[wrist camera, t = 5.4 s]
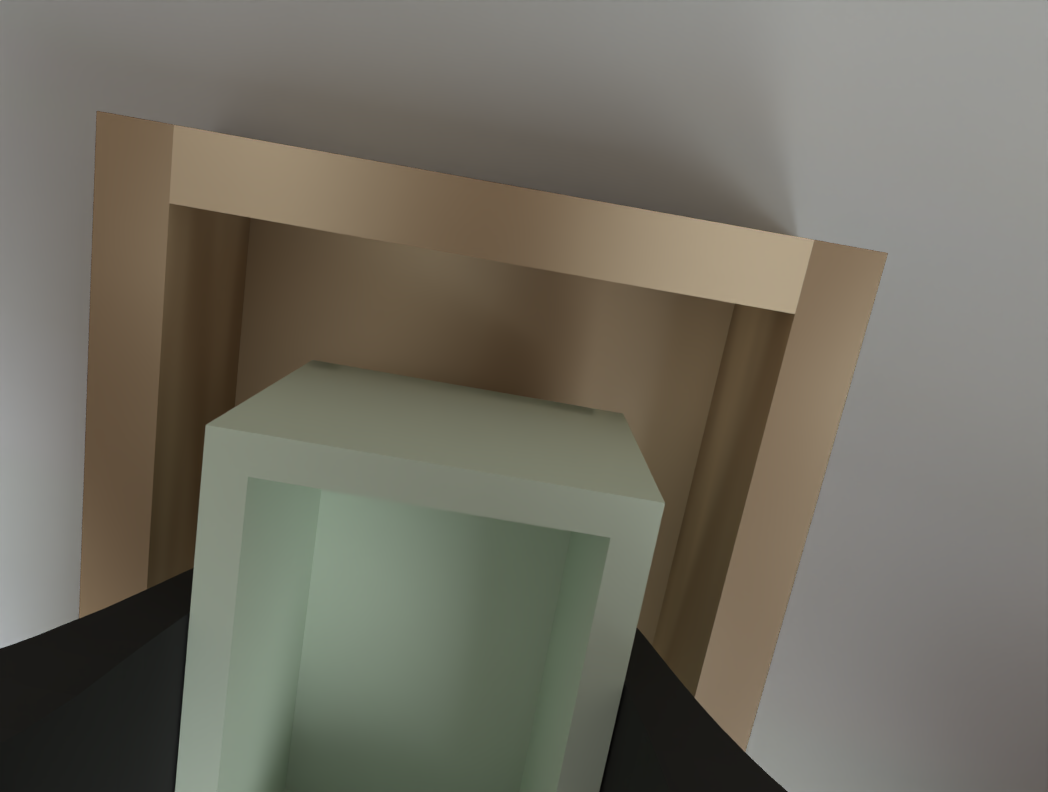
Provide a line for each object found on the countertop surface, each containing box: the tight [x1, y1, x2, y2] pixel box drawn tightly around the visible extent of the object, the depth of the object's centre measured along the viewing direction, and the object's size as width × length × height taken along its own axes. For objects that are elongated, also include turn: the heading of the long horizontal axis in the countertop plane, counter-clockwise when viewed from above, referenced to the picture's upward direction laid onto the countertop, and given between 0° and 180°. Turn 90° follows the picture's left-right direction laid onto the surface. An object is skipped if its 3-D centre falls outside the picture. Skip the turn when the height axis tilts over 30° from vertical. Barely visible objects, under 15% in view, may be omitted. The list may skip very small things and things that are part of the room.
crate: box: [79, 111, 888, 752], centre depth 13 cm, size 10×14×4 cm
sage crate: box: [175, 360, 665, 792], centre depth 11 cm, size 5×8×4 cm, turn 170°
